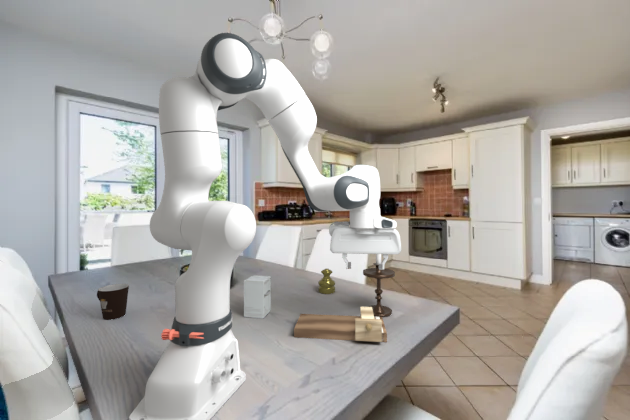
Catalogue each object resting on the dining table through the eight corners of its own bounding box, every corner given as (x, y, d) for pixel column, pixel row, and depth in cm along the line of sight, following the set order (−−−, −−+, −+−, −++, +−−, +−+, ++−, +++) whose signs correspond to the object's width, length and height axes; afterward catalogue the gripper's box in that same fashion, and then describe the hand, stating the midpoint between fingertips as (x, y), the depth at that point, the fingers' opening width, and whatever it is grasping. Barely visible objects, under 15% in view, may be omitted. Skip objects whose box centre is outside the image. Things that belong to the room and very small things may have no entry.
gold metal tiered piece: (335, 294, 117) (335, 270, 117) (318, 294, 117) (318, 271, 117) (334, 289, 125) (334, 266, 125) (318, 289, 125) (318, 267, 125)
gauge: (382, 343, 74) (382, 323, 74) (355, 342, 74) (355, 322, 74) (377, 325, 85) (377, 307, 85) (354, 323, 86) (354, 306, 86)
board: (386, 342, 76) (386, 332, 76) (294, 337, 80) (294, 328, 80) (382, 325, 87) (382, 316, 87) (300, 321, 91) (300, 313, 90)
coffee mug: (132, 315, 96) (131, 287, 96) (101, 323, 90) (100, 293, 89) (123, 307, 104) (123, 280, 104) (94, 314, 98) (94, 285, 97)
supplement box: (263, 319, 93) (263, 281, 92) (243, 317, 94) (242, 280, 94) (271, 310, 100) (271, 275, 100) (252, 309, 101) (252, 274, 101)
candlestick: (357, 312, 97) (356, 213, 97) (373, 304, 105) (373, 212, 105) (385, 321, 90) (384, 213, 89) (400, 311, 98) (400, 212, 97)
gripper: (328, 222, 79) (328, 270, 79) (402, 222, 76) (402, 272, 76) (330, 220, 85) (330, 265, 85) (398, 221, 83) (398, 267, 83)
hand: (364, 268), depth 81 cm, fingers open, 8 cm apart
